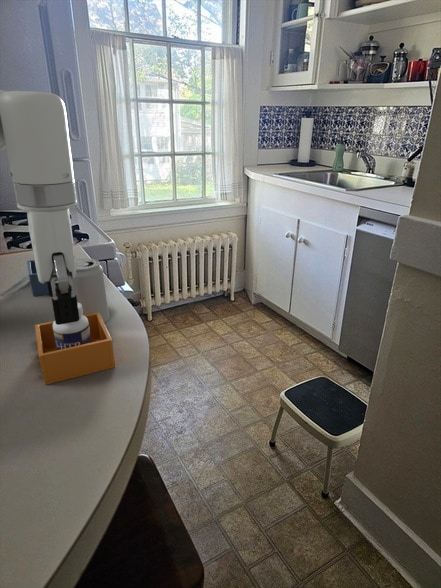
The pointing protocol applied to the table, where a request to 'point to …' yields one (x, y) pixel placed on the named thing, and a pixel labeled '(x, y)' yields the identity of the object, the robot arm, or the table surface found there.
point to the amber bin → (74, 352)
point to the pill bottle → (72, 332)
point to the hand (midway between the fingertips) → (63, 307)
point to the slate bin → (36, 280)
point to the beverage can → (91, 287)
